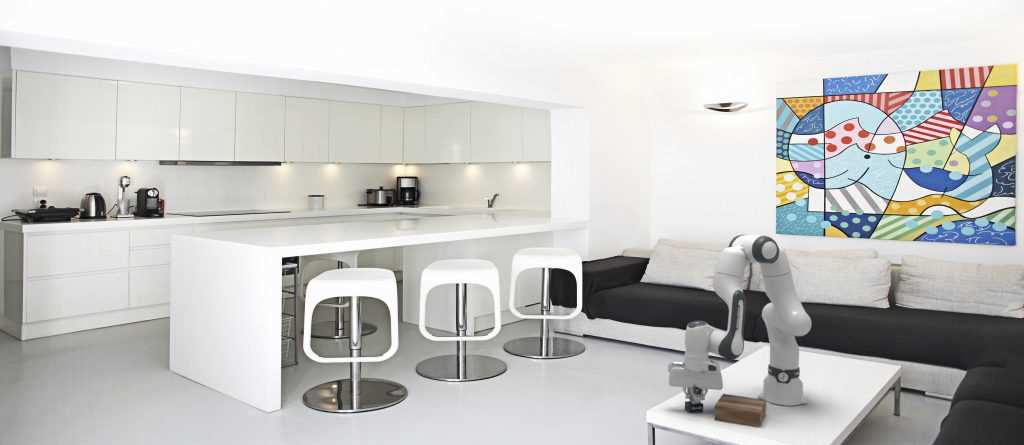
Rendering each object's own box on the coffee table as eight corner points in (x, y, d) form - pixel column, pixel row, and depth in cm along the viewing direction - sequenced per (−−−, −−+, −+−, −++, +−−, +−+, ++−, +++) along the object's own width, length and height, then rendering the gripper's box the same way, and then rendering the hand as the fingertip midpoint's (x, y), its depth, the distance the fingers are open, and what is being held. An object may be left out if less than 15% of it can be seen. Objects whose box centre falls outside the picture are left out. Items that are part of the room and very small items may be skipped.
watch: (692, 414, 275) (692, 386, 274) (682, 407, 283) (682, 380, 282) (705, 413, 276) (705, 385, 275) (696, 406, 284) (696, 379, 283)
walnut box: (722, 408, 284) (723, 393, 283) (765, 415, 277) (766, 399, 276) (714, 421, 270) (715, 405, 269) (759, 428, 262) (760, 412, 262)
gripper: (668, 363, 277) (667, 399, 278) (723, 367, 273) (722, 403, 274) (668, 359, 284) (667, 394, 285) (722, 363, 279) (721, 398, 280)
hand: (694, 398), depth 279 cm, fingers closed on watch, 4 cm apart
